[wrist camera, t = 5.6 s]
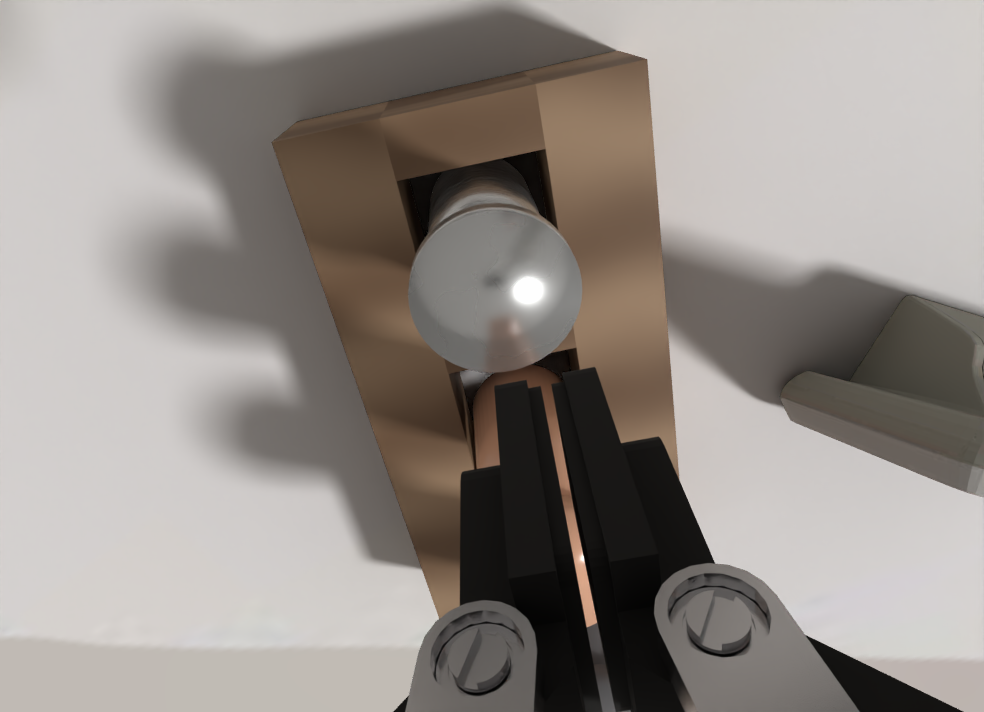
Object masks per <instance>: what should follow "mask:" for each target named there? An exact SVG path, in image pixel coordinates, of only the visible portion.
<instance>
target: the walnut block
mask: <svg viewBox="0 0 984 712" xmlns="http://www.w3.org/2000/svg"><path fill="white" fill-rule="evenodd" d="M272 145H273V148H274V151H275V153H276V156H277V159H278V162H279V165H280V168H281V170H282V173H283V176H284V179H285V182H286V185H287V188H288V190H289V193H290V196H291V199H292V202H293V205H294V207H295V210H296V213H297V216H298V219H299V222H300V224H301V227H302V230H303V233H304V236H305V239H306V241H307V244H308V247H309V250H310V253H311V256H312V258H313V261H314V264H315V267H316V270H317V273H318V275H319V278H320V281H321V284H322V287H323V290H324V293H325V295H326V298H327V301H328V304H329V307H330V310H331V312H332V315H333V318H334V321H335V324H336V327H337V329H338V332H339V335H340V338H341V341H342V344H343V346H344V349H345V352H346V355H347V358H348V361H349V363H350V366H351V369H352V372H353V375H354V378H355V380H356V383H357V386H358V389H359V392H360V395H361V398H362V400H363V403H364V406H365V409H366V412H367V415H368V417H369V420H370V423H371V426H372V429H373V432H374V434H375V437H376V440H377V443H378V446H379V449H380V451H381V454H382V457H383V460H384V463H385V466H386V468H387V471H388V474H389V477H390V480H391V483H392V486H393V488H394V491H395V494H396V497H397V500H398V503H399V505H400V508H401V511H402V514H403V517H404V520H405V522H406V525H407V528H408V531H409V534H410V537H411V539H412V542H413V545H414V548H415V551H416V554H417V556H418V559H419V562H420V565H421V568H422V571H423V573H424V576H425V579H426V582H427V585H428V588H429V591H430V593H431V596H432V599H433V602H434V605H435V608H436V610H437V613H438V616H439V619H440V618H441V617H443V616H444V615H445V614H446V613H448V612H449V611H450V610H452V609H455V608H457V607H459V606H460V481H461V473H462V472H463V471H468V470H474V469H477V464H476V449H475V433H474V420H472V419H471V415H470V411H469V407H468V403H467V399H466V396H465V392H464V388H463V384H462V380H461V376H460V372H459V371H464V370H469V369H466V368H463V367H460V366H457V365H455V364H453V363H451V362H449V361H447V360H446V359H444V358H443V357H441V356H440V355H438V354H437V353H436V352H435V351H434V350H432V349H431V347H430V346H429V345H428V344H427V343H426V342H425V341H424V339H423V338H422V337H421V335H420V334H419V332H418V330H417V328H416V326H415V324H414V322H413V319H412V316H411V312H410V308H409V299H408V289H409V279H410V272H411V267H412V263H413V260H414V257H415V255H416V252H417V250H418V248H419V247H420V245H421V243H422V241H423V240H424V239H425V238H424V234H423V230H422V226H421V222H420V218H419V215H418V211H417V207H416V203H415V199H414V195H413V191H412V188H411V184H410V180H409V178H414V177H418V176H423V175H427V174H432V173H437V172H441V171H446V170H450V169H455V168H460V167H464V166H469V165H473V164H478V163H483V162H487V161H492V160H496V159H501V158H506V157H510V156H515V155H519V154H524V153H529V152H533V151H536V157H537V163H538V169H539V176H540V182H541V188H542V194H543V200H544V206H545V212H546V219H547V220H548V221H549V222H550V223H552V224H553V225H554V226H555V227H556V228H557V229H558V230H559V232H560V233H561V234H562V236H563V237H564V238H565V240H566V241H567V243H568V245H569V247H570V249H571V251H572V253H573V255H574V257H575V259H576V261H577V264H578V267H579V270H580V274H581V279H582V301H581V305H580V310H579V313H578V316H577V319H576V321H575V323H574V325H573V327H572V329H571V330H570V332H569V333H568V335H567V336H566V338H565V339H564V340H563V341H562V342H561V343H560V345H559V346H558V347H557V348H555V349H554V350H553V351H552V352H557V351H562V350H567V349H568V354H569V360H570V366H571V371H575V370H581V369H586V368H591V367H595V368H596V370H597V373H598V376H599V379H600V382H601V385H602V388H603V391H604V394H605V397H606V400H607V403H608V406H609V409H610V412H611V415H612V418H613V421H614V424H615V427H616V430H617V432H618V435H619V438H620V441H621V443H625V442H630V441H636V440H641V439H647V438H653V437H658V436H659V437H660V438H661V440H662V442H663V444H664V446H665V448H666V450H667V453H668V455H669V457H670V460H671V462H672V464H673V467H674V469H675V471H676V474H677V476H678V478H679V470H678V457H677V444H676V431H675V418H674V405H673V392H672V379H671V366H670V353H669V340H668V327H667V313H666V300H665V287H664V274H663V261H662V248H661V235H660V222H659V209H658V196H657V183H656V169H655V156H654V143H653V130H652V117H651V104H650V91H649V78H648V65H647V59H645V58H641V57H638V56H634V55H631V54H628V53H624V52H621V51H618V50H617V51H613V52H608V53H604V54H599V55H595V56H590V57H586V58H581V59H577V60H572V61H568V62H563V63H559V64H554V65H550V66H545V67H541V68H536V69H532V70H527V71H523V72H518V73H514V74H509V75H505V76H500V77H496V78H491V79H487V80H482V81H478V82H473V83H469V84H464V85H460V86H456V87H451V88H447V89H442V90H438V91H433V92H429V93H424V94H420V95H415V96H411V97H406V98H402V99H397V100H393V101H388V102H384V103H379V104H375V105H370V106H366V107H361V108H357V109H352V110H348V111H343V112H339V113H334V114H330V115H325V116H321V117H316V118H312V119H307V120H303V121H298V122H296V123H295V124H294V125H292V126H291V127H290V128H289V129H288V130H286V131H285V132H284V133H283V134H281V135H280V136H279V137H278V138H276V139H275V140H274V141H273V142H272ZM552 352H551V353H552Z"/></svg>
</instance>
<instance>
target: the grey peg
mask: <svg viewBox="0 0 984 712" xmlns="http://www.w3.org/2000/svg"><path fill="white" fill-rule="evenodd" d="M408 299H409V308H410V312H411V316H412V319H413V322H414V324H415V326H416V328H417V330H418V332H419V334H420V335H421V337H422V338H423V339H424V341H425V342H426V343H427V344H428V345H429V346H430V347H431V349H432V350H434V351H435V352H436V353H437V354H438V355H440V356H441V357H443V358H444V359H446V360H447V361H449V362H451V363H453V364H455V365H457V366H460V367H463V368H466V369H469V370H474V371H479V372H489V373H494V372H506V371H512V370H516V369H520V368H523V367H526V366H528V365H531V364H533V363H535V362H537V361H539V360H541V359H542V358H544V357H545V356H547V355H548V354H550V353H551V352H552V351H553V350H554V349H555V348H557V347H558V346H559V345H560V343H561V342H562V341H563V340H564V339H565V338H566V336H567V335H568V333H569V332H570V330H571V329H572V327H573V325H574V323H575V321H576V319H577V316H578V313H579V310H580V305H581V301H582V279H581V274H580V270H579V267H578V264H577V261H576V259H575V257H574V255H573V253H572V251H571V249H570V247H569V245H568V243H567V241H566V240H565V238H564V237H563V236H562V234H561V233H560V232H559V230H558V229H557V228H556V227H555V226H554V225H553V224H552V223H550V222H549V221H548V220H546V219H545V218H544V217H542V216H540V214H539V211H538V209H537V207H536V204H535V202H534V200H533V197H532V195H531V193H530V191H529V188H528V186H527V184H526V182H525V180H524V178H523V177H522V175H521V174H520V173H519V172H518V171H517V170H516V169H515V168H514V167H513V166H512V165H511V164H509V163H508V162H506V161H504V160H502V159H496V160H492V161H487V162H483V163H478V164H473V165H469V166H464V167H460V168H455V169H450V170H446V171H443V173H442V174H441V175H440V176H439V178H438V179H437V181H436V183H435V185H434V188H433V190H432V194H431V200H430V212H429V225H428V235H427V236H426V237H425V239H424V240H423V241H422V243H421V245H420V247H419V248H418V250H417V252H416V255H415V257H414V260H413V263H412V267H411V272H410V279H409V289H408Z"/></svg>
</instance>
